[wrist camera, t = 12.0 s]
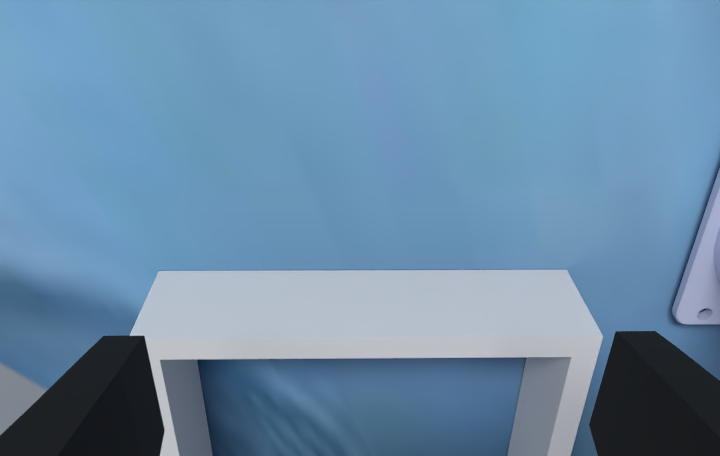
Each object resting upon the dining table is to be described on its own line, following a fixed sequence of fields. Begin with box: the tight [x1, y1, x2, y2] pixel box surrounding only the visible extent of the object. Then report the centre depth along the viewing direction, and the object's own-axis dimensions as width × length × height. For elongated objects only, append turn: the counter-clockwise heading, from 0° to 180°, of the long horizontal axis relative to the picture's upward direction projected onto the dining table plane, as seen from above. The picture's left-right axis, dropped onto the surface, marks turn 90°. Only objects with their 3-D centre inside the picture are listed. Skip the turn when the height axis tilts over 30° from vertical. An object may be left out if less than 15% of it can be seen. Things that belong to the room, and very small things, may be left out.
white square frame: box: [130, 270, 603, 456], centre depth 23 cm, size 14×14×4 cm
